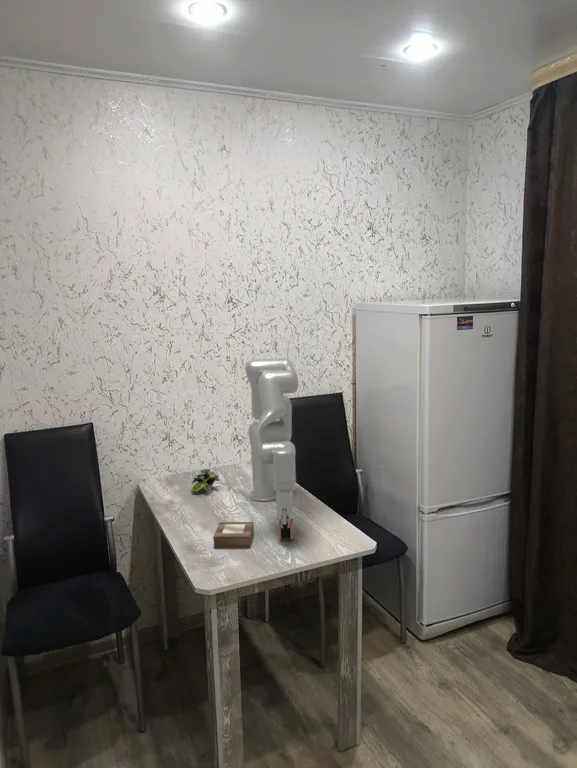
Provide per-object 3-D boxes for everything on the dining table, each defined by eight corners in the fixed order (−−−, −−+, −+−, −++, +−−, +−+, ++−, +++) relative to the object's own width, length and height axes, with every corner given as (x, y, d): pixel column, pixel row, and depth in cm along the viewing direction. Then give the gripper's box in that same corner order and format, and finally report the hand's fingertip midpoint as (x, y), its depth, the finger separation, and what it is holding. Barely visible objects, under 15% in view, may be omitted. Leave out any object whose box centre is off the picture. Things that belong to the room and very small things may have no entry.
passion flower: (206, 500, 245) (219, 475, 248) (213, 503, 235) (226, 477, 238) (184, 489, 241) (197, 463, 244) (190, 492, 231) (204, 465, 234)
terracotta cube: (279, 532, 194) (278, 518, 193) (293, 532, 194) (293, 518, 193) (278, 539, 189) (277, 525, 188) (293, 538, 189) (292, 525, 188)
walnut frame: (219, 533, 198) (219, 521, 197) (253, 532, 197) (253, 521, 196) (214, 548, 186) (213, 536, 185) (250, 548, 185) (249, 536, 185)
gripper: (275, 475, 197) (276, 524, 200) (271, 493, 180) (273, 546, 183) (296, 475, 196) (297, 524, 200) (295, 493, 180) (296, 546, 183)
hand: (286, 534), depth 191 cm, fingers closed on terracotta cube, 4 cm apart
